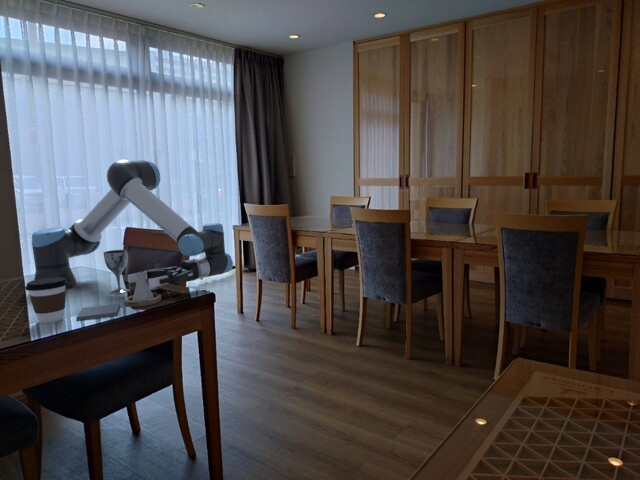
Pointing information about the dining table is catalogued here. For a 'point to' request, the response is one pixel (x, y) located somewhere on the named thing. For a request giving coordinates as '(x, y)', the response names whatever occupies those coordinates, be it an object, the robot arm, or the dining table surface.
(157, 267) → the pocket watch
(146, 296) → the flask
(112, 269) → the wine glass
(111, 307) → the rubber mat
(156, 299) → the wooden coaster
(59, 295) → the coffee cup
